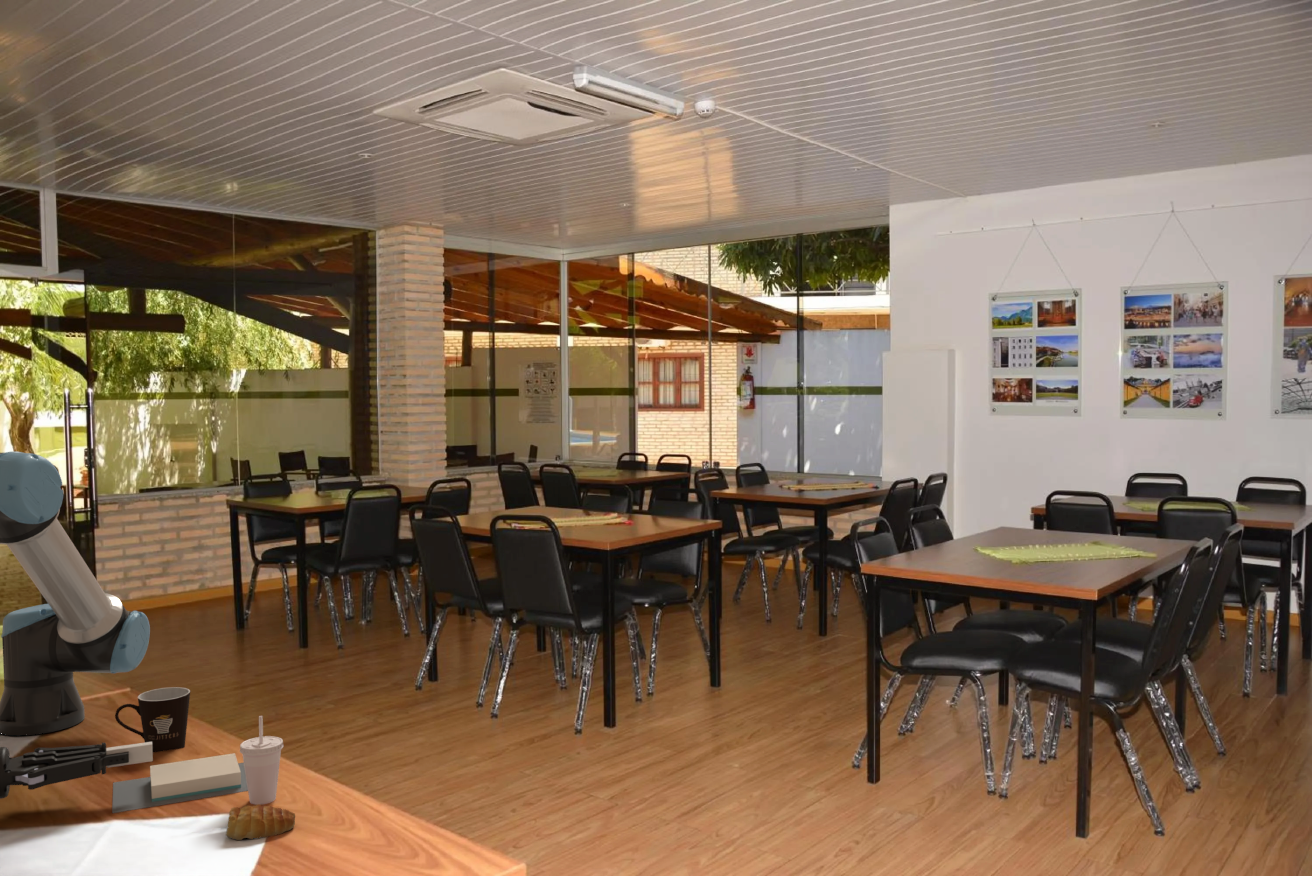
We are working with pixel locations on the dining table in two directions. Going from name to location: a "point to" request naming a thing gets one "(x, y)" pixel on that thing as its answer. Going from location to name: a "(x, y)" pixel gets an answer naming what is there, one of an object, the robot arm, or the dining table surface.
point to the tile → (194, 777)
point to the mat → (139, 797)
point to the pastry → (258, 822)
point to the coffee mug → (162, 717)
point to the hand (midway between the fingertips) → (152, 751)
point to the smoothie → (261, 766)
